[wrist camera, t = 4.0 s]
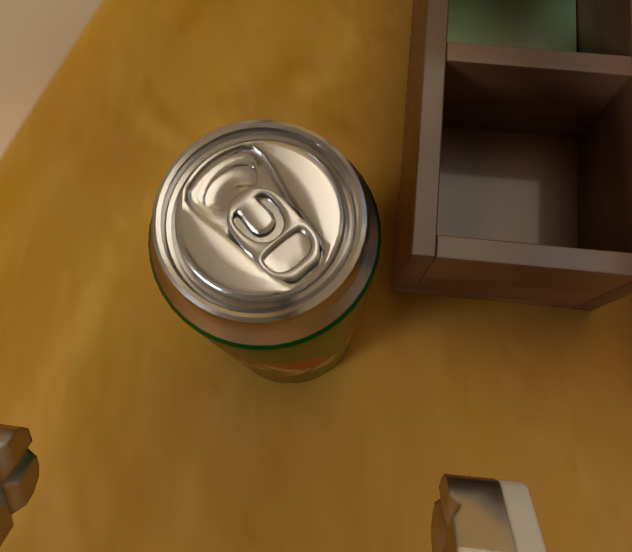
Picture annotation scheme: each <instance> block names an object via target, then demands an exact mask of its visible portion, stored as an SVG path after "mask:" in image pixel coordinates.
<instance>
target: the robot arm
mask: <svg viewBox="0 0 632 552" xmlns="http://www.w3.org/2000/svg"><path fill="white" fill-rule="evenodd" d="M31 442H32V438H31V435H30V432H29V429H28V428H24V427H18V426H11V425H4V424H0V546H1V545H2V543H3V541H4V540H5V538H6V537H7V535H8V533H9V532H10V530H11V529H12V527H13V518H12V514H13V513H15V512H16V511H18V510H19V509H21V508H22V507H24V506H25V505H26V504H27V503H28V501H29V499H30V498H31V496H32V494H33V493H34V490H35V487H36V484H37V481H38V477H39V463H38V459H37V456H36V455H35V454H34V453H32V452H31V451H30V450H29V449H28V446H29V445H30V444H31ZM439 490H440V499H439V500H438V501H436V502H435V505H434V509H433V514H432V524H431V542H432V552H547V551H546V547H545V544H544V540H543V537H542V534H541V530H540V527H539V524H538V520H537V517H536V513H535V510H534V507H533V503H532V500H531V497H530V493H529V490H528V487H527V486H526V484H525V483H524V482H516V481H506V480H495V479H492V478H482V477H472V476H462V475H452V474H444V475H443V476H442V478H441V482H440V485H439Z"/></svg>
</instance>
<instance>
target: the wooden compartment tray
mask: <svg viewBox="0 0 632 552" xmlns="http://www.w3.org/2000/svg"><path fill="white" fill-rule="evenodd" d="M393 291H400V292H410V293H421V294H431V295H441V296H451V297H462V298H472V299H482V300H492V301H502V302H513V303H523V304H533V305H543V306H554V307H564V308H574V309H584V310H594V309H597V308H599V307H601V306H603V305H606V304H608V303H610V302H613V301H615V300H618V299H620V298H622V297H625V296H627V295H630V294H632V0H413V13H412V26H411V40H410V54H409V68H408V82H407V96H406V110H405V124H404V138H403V152H402V165H401V179H400V193H399V207H398V221H397V235H396V249H395V263H394V277H393Z"/></svg>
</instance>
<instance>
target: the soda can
mask: <svg viewBox="0 0 632 552" xmlns="http://www.w3.org/2000/svg"><path fill="white" fill-rule="evenodd" d="M148 246H149V256H150V263H151V267H152V271H153V274H154V278H155V280H156V282H157V285H158V287H159V289H160V291H161V293H162V295H163V297H164V298H165V299H166V301H167V302H168V304H169V305H170V307H171V308H172V310H173V311H174V312H175V313H176V314H177V315H178V316H179V317H180V318H181V319H182V320H183V321H184V322H185V323H186V324H188V325H189V326H191V327H192V328H193V329H195V330H196V331H197V332H199V333H200V334H202V335H203V336H204V337H206V338H207V339H208V340H210V341H211V342H213V343H214V344H215V345H217V346H218V347H220V348H221V349H222V350H224V351H225V352H227V353H228V354H229V355H231V356H232V357H234V358H235V359H236V360H238V361H239V362H241V363H242V364H243V365H245V366H246V367H248V368H249V369H250V370H252V371H253V372H255V373H256V374H258V375H260V376H262V377H264V378H266V379H268V380H272V381H275V382H280V383H300V382H306V381H309V380H312V379H315V378H317V377H319V376H321V375H323V374H325V373H326V372H328V371H329V370H330V369H332V368H333V367H334V366H335V365H336V364H337V363H338V362H339V361H340V360H341V359H342V357H343V356H344V354H345V353H346V351H347V349H348V347H349V345H350V343H351V341H352V338H353V335H354V332H355V329H356V326H357V323H358V320H359V317H360V315H361V312H362V309H363V306H364V303H365V300H366V297H367V294H368V291H369V288H370V285H371V283H372V280H373V277H374V274H375V270H376V267H377V264H378V260H379V254H380V246H381V226H380V219H379V214H378V210H377V206H376V203H375V201H374V198H373V195H372V193H371V190H370V189H369V187H368V185H367V184H366V182H365V180H364V179H363V177H362V175H361V174H360V173H359V172H358V171H357V169H356V168H355V167H354V166H353V165H352V163H351V162H349V161H348V160H347V159H346V158H345V157H344V156H343V155H342V154H341V152H340V151H339V150H338V149H336V148H335V147H334V146H333V145H332V144H331V143H330V142H328V141H327V140H326V139H324V138H322V137H321V136H319V135H318V134H316V133H315V132H312V131H310V130H308V129H305V128H303V127H301V126H298V125H294V124H291V123H287V122H282V121H274V120H250V121H244V122H237V123H234V124H230V125H227V126H224V127H221V128H219V129H217V130H214V131H212V132H210V133H208V134H206V135H205V136H203V137H201V138H200V139H198V140H197V141H195V142H194V143H193V144H191V145H190V146H189V147H188V148H187V149H186V150H185V151H183V152H182V153H181V154H180V155H179V157H178V158H177V159H176V160H175V161H174V163H173V164H172V165H171V166H170V168H169V170H168V171H167V173H166V175H165V176H164V178H163V179H162V182H161V184H160V187H159V189H158V191H157V194H156V198H155V202H154V206H153V212H152V218H151V222H150V227H149V241H148Z"/></svg>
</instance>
